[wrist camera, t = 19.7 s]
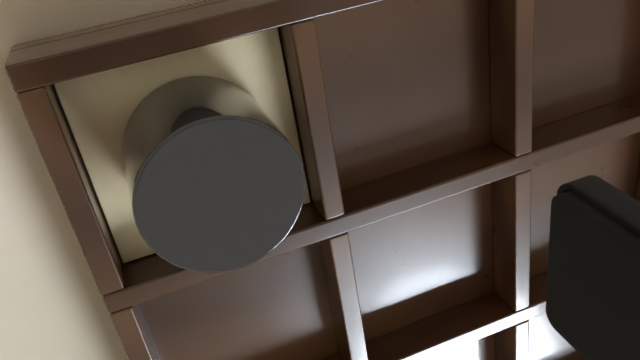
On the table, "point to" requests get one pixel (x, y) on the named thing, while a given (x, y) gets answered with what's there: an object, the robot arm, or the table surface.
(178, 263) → the dark grey cylinder
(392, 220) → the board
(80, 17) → the table surface
